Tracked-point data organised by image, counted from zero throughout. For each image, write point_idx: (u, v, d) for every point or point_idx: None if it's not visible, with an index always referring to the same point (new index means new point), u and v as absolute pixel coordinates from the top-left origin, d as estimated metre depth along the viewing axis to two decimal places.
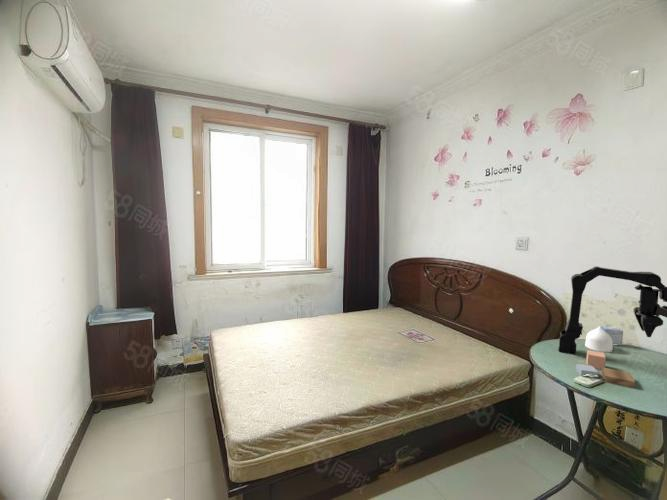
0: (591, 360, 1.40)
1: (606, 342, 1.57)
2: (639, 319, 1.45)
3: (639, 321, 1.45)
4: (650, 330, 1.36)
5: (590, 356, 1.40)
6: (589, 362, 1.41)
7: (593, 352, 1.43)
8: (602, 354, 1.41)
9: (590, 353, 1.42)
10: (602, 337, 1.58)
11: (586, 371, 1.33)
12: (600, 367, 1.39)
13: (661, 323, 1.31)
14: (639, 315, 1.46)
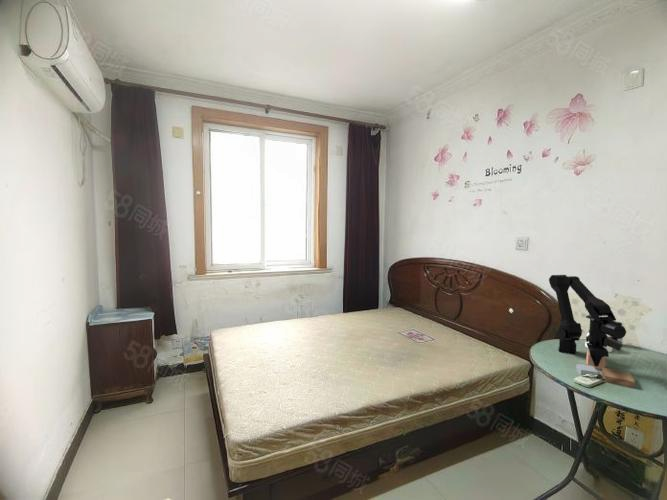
0: (591, 360, 1.40)
1: None
2: None
3: None
4: (597, 360, 1.38)
5: (590, 356, 1.40)
6: (589, 362, 1.41)
7: None
8: None
9: None
10: None
11: (585, 370, 1.33)
12: (600, 367, 1.39)
13: (607, 355, 1.32)
14: (590, 345, 1.45)
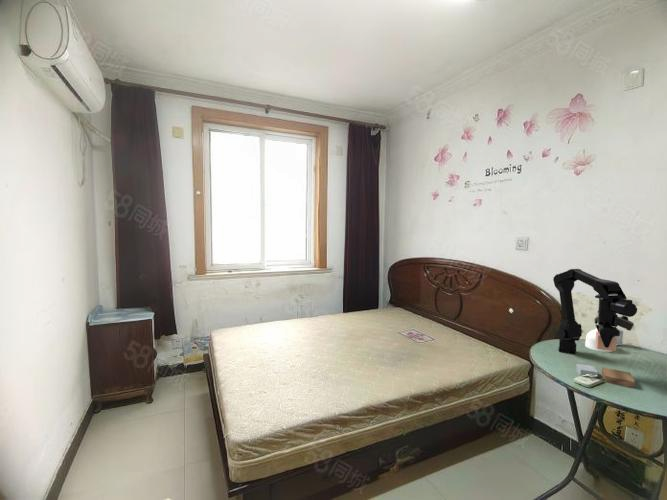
0: (601, 341, 1.34)
1: None
2: None
3: None
4: (607, 340, 1.32)
5: (600, 337, 1.35)
6: (599, 343, 1.35)
7: None
8: None
9: None
10: None
11: (585, 370, 1.33)
12: (611, 348, 1.33)
13: (618, 334, 1.26)
14: (600, 326, 1.40)
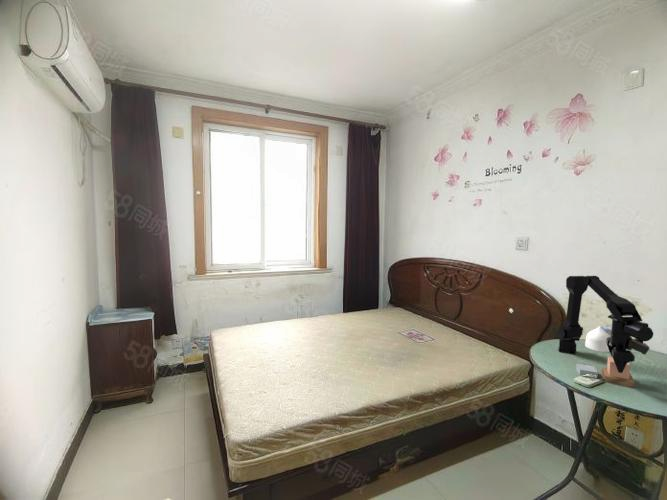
0: (613, 368, 1.28)
1: None
2: (611, 351, 1.34)
3: (611, 353, 1.34)
4: (621, 365, 1.24)
5: (612, 364, 1.28)
6: (611, 370, 1.28)
7: None
8: None
9: (612, 360, 1.30)
10: (601, 337, 1.58)
11: (585, 370, 1.33)
12: (624, 376, 1.26)
13: (632, 359, 1.19)
14: (611, 346, 1.34)
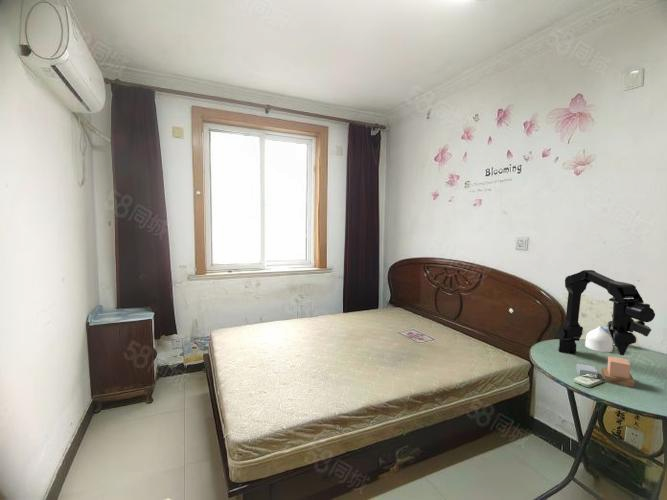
0: (614, 367, 1.28)
1: (606, 342, 1.57)
2: (613, 334, 1.33)
3: (613, 337, 1.33)
4: (623, 348, 1.23)
5: (613, 364, 1.28)
6: (611, 370, 1.28)
7: (615, 359, 1.30)
8: (626, 361, 1.28)
9: (613, 359, 1.30)
10: (602, 337, 1.58)
11: (585, 370, 1.33)
12: (624, 375, 1.26)
13: (634, 340, 1.19)
14: (613, 330, 1.33)
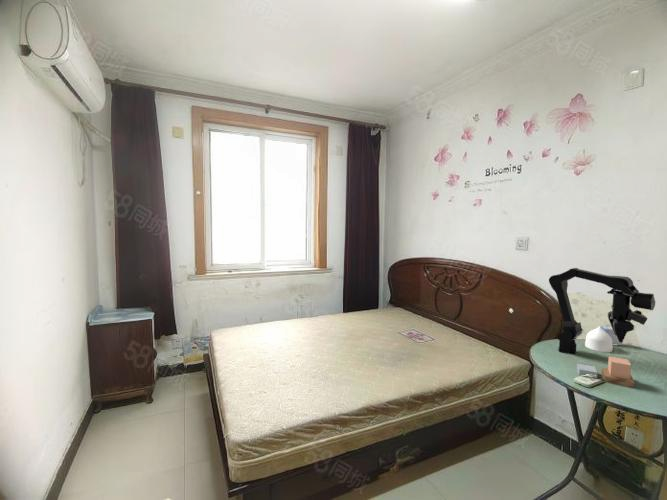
0: (615, 368, 1.27)
1: (606, 342, 1.57)
2: (612, 324, 1.45)
3: (612, 326, 1.45)
4: (622, 335, 1.35)
5: (614, 364, 1.28)
6: (612, 370, 1.28)
7: (616, 359, 1.30)
8: (626, 361, 1.28)
9: (613, 360, 1.29)
10: (601, 337, 1.58)
11: (584, 370, 1.33)
12: (625, 376, 1.26)
13: (632, 328, 1.31)
14: (612, 319, 1.45)
